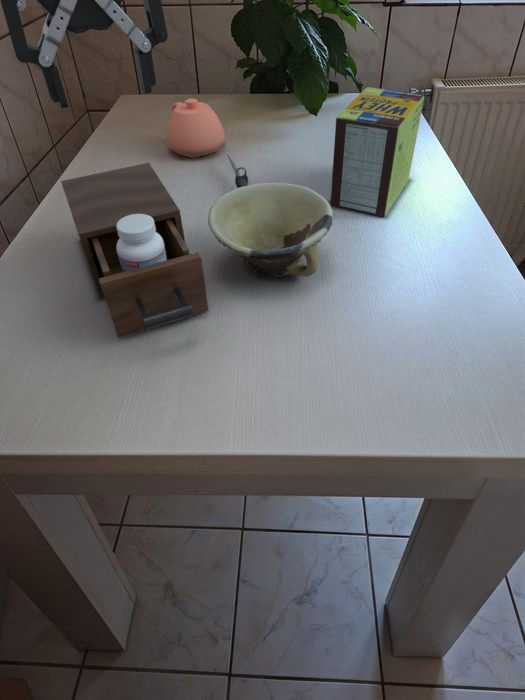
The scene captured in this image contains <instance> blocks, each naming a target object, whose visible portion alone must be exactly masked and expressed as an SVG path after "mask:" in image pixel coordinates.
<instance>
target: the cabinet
mask: <svg viewBox="0 0 525 700" xmlns="http://www.w3.org/2000/svg"><path fill="white" fill-rule="evenodd" d="M60 182H61V185H62V188H63V192H64V195H65V198H66V201H67V204H68V207H69V211H70V214H71V216H72V219H73V222H74V226H75V228H76V231H77V235H78V238H79V240H80V243H81V246H82V247H81V248H82V249H83V253H84V255H85V258H86V261H87V265H88V268H89V270H90V272H91V276H92V279H93V282H94V285H95V288H96V291H97V294H98V297H99V299H105V297H104V294H103V291H102V288H101V285H100V282H99V278H102V277H103V275H102V272H101V270H100V266H99V263H98V260H97V257H96V254H95V251H94V248H93V244H92V241H91V237H95V236H99V235H103V234H107V233H111V232H116V231H117V227H116V225H117V222H118V221H119V220H120V219H122V218H123V217H126V216H128V215H132V214H145V215H148V216H150V217H152V218H153V220H154V222H157V221H161V220H165V219H169V218H170V219H171V221H172V222H173V224H174V226H175V227H176V229H177V231H178V232H179V234H180V236H181V237H182V239H183V241H184V242H185V243H186V240H185V233H184V228H183V221H182V216H181V210H180V208H179V207H178V205H177V204H176V202H175V200H174V199H173V198H172V195H171V194H170V193H169V191H168V189H167V188H166V187H165V185H164V183H163V182H162V181H161V179H160V178H159V176H158V174H157V173H156V171H155V170H154V167H152V165H151V164H150V162H145V163H141V164H136V165H131V166H126V167H121V168H117V169H111V170H107V171H102V172H98V173H93V174H87V175H83V176H78V177H73V178H70V179H64V180H61V181H60Z"/></svg>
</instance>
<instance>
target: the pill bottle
mask: <svg viewBox="0 0 525 700" xmlns="http://www.w3.org/2000/svg"><path fill="white" fill-rule="evenodd" d="M116 227H117V231H118V236H119V237H120V239H119V240H118V242H117V246H116V249H117V254H118V257H119V261H120V265H121V269H122V272H125V271H129V270H132V269H136V268H140V267H144V266H148V265H151V264H155V263H159V262H163V261H166V260H167V257H166V251H165V246H164V241H163V239H162V237H161V236H160V235H159V234H158V233H157V232H156V227H155V223H154V220H153V218H152V217H150V216H148V215H145V214H132V215H128V216H126V217H123V218H122V219H120V220H119V221H118V222H117V225H116Z"/></svg>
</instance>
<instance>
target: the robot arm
mask: <svg viewBox="0 0 525 700" xmlns="http://www.w3.org/2000/svg"><path fill="white" fill-rule="evenodd" d="M36 2H37V3H38V4H39V5H40V6H41V7H42V8H43V9H44V10H45V11H46V12H47V15H46V18H45V21H44V24H43V27H42V32H41V35H40V38H39V41H38V44H37V46H36V45H32V44H29V43H28V41H27V37H26V34H25V31H24V27H23V23H22V20H21V14H20V13H21V12H24V11H25V10H26V9H27V0H0V5H1V8H2V12H3V15H4V19H5V22H6V26H7V29H8V33H9V38H10V40H11V43H12V44H11V45H12V48H13V50H14V54H15V58H16V59H17V60H18V61H19V62H20V63H22V64H23V63H24V64H26V63H30V64H34V65H36V66H38V67H39V68H40V69H41V72H42V75H43V78H44V82H45V85H46V88H47V91H48V95H49V98H50V99H51V100H52V102H53V103H54V104H55V103H59V106H60V108H61V109H64V108H69V104H68V103H69V102H68V100H67V95H66V93H65V89H64V86H63V82H62V80H61V76H60V72H59V68H58V66H57V64H56V62H55V57H56V55H57V52H58V49H59V46H60V45H61V43H62V41H63V38H64V36H65V34H66V31H68V32H71V33H73V34H74V35H77V34H84V33H86V32H88V31H90V30H94V31H107V30H109V28H110V27H111V26H112V25H113V24H114V23H115V25H116V26H117V27H118V28H119V29H120V30H121V31H122V32H123V33H124V35H126V36H127V37H128V39H129V40H130V41H131V42H132V43H133V44H134V47H135V48H133V54H134V59H135V64H136V70H137V76H138V81H139V86H140V89H141V91H142V92H143V93H144V94H149V93H150V94H151V93H152V91H153V90H152V87H155V86H156V82H157V78H156V72H155V66H154V61H153V60H154V59H153V53H152V52H153V49H154V47H156V46H157V45H159V44H161V43H166V41H167V40H168V37H169V35H168V29H167V24H166V20H165V14H164V7H163V5H162V4H163V3H162V0H142V3H143V8H144V12H145V17H146V21H147V22H146V23H147V26H148V27H147V28H146V29H145V30H142V31H141V30H140V29H139V28H138V26H137V25H136V24H135V23H134V21H132V20H131V18H130V17H129V16H128V15H127V14H126V12H124V11H123V9H122V8H121V5H122V2H123V0H36Z"/></svg>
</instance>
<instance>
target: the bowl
mask: <svg viewBox="0 0 525 700" xmlns="http://www.w3.org/2000/svg"><path fill="white" fill-rule="evenodd" d="M333 219H334V212H333V209H332V205H330V202H328V201H327V200H326V198H325V197H324V196H323V195H321V194H320V193H318V192H316V191H314V190H313V189H311V188H309V187H306V186H303V185H299V184H295V183H284V182H261V183H254V184H248V186H244V187H240V188H237V187H236V188H234V189H232V190H229V191H228V192H226V193H223V195H221V196H220V197H218V198H217V200H215V201H214V203H213V204H212V205H211V206H210V208H209V211H208V216H207V224H208V227H209V230H210V232H211V233H212V234H213V236H214V238H215V239H216V240H217V242H218V243H219V244H221V245H222V246H224V247H226V248H227V249H229V250H232V251H234V252H235V253H236V254H237V255H239V256H240V257H241V258H242V259H244V260H245V261H246V262H247V265H248V267H249V268H250V269H251V271H252V272H254V273H256V274H258V275H262V276H265V277H271V278H272V277H283V276H286V275H292V276H296V277H310V276H313V275H314V274H315V273H316V272H317V270H318V268H319V265H320V259H319V258H320V257H319V252H318V244H319V243H321V241H322V240H323V238H324V237H325V236H326V235H327V234H328V232H329V231H330V229H331V227H332V225H333ZM303 256H304V258H305V260H306V264H303V263H301V260H302V258H303Z"/></svg>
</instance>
